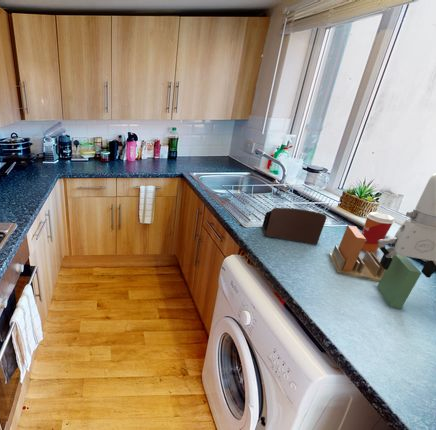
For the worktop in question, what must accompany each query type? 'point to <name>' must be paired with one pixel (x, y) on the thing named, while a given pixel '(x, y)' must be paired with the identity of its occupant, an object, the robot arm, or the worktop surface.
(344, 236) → the orange book
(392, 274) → the green book
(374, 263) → the book rack
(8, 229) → the worktop surface
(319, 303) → the worktop surface
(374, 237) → the coffee cup
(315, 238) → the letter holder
